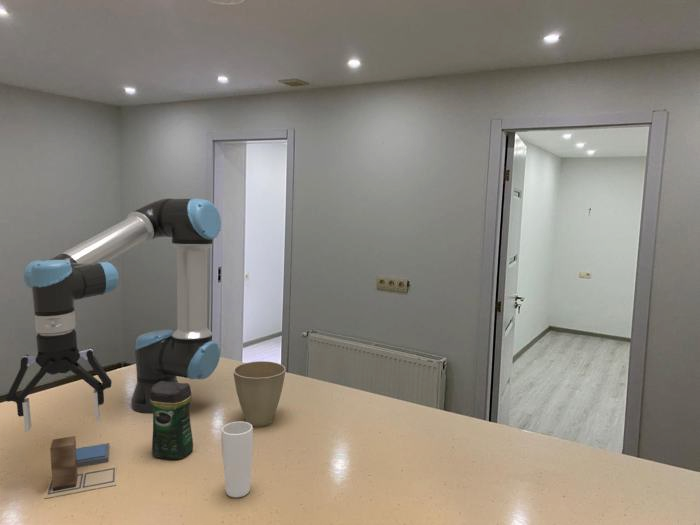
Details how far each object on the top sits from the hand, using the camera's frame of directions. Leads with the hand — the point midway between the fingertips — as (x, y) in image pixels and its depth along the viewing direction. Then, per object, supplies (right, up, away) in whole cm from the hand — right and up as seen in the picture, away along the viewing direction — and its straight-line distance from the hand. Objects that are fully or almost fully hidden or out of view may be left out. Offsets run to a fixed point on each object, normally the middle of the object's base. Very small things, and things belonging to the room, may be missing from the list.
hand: (63, 423), depth 113 cm
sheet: (+3, -14, +3) cm, 15 cm away
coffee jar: (+19, -13, +17) cm, 28 cm away
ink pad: (-2, -13, +13) cm, 18 cm away
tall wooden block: (0, -14, +1) cm, 14 cm away
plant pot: (+38, -11, +35) cm, 53 cm away
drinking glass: (+39, -15, -1) cm, 42 cm away
